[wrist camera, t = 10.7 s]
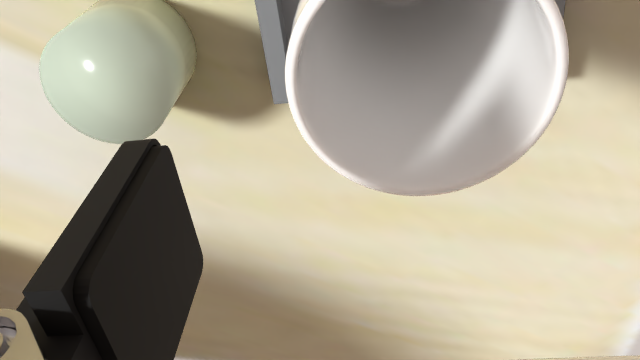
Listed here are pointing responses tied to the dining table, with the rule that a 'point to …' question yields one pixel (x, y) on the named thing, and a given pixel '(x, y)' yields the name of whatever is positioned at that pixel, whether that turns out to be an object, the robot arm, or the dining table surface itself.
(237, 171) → the dining table surface
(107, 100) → the pale green rounded cylinder
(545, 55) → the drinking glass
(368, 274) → the dining table surface
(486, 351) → the dining table surface
